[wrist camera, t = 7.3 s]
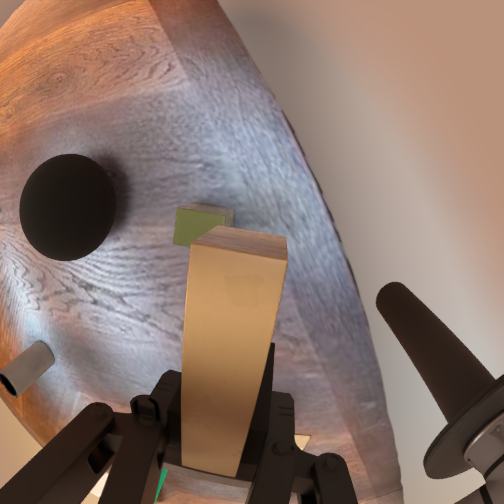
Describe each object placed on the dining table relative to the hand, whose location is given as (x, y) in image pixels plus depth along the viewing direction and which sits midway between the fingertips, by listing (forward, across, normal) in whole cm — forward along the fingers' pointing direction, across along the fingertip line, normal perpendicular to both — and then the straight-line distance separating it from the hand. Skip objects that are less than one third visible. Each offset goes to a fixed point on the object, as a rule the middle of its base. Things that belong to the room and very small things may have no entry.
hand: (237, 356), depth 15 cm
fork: (0, 0, -2) cm, 2 cm away
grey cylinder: (+12, -31, -20) cm, 39 cm away
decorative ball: (+12, -18, +6) cm, 23 cm away
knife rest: (+12, -5, +5) cm, 14 cm away
